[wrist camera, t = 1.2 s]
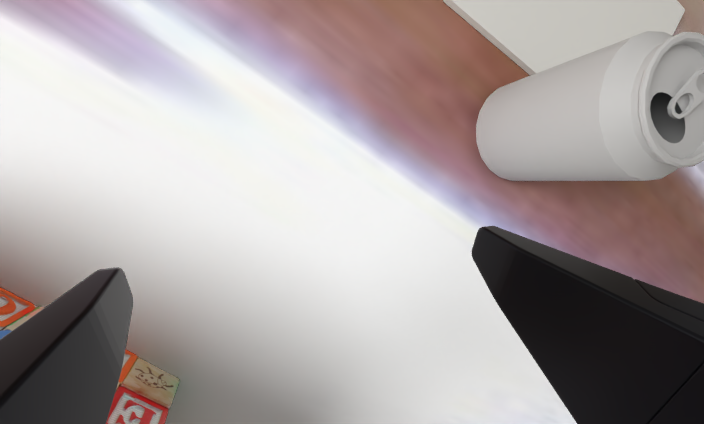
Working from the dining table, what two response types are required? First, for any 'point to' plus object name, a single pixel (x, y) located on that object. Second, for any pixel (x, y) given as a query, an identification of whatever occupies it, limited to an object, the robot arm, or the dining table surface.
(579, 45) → the mat
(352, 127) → the dining table surface
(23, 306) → the stack of blocks
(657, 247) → the dining table surface
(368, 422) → the dining table surface
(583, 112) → the can
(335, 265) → the dining table surface
